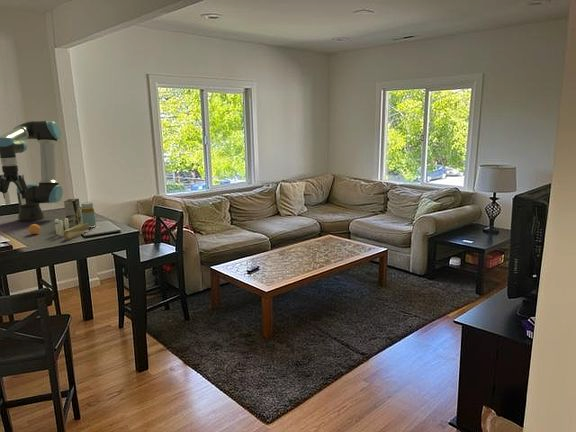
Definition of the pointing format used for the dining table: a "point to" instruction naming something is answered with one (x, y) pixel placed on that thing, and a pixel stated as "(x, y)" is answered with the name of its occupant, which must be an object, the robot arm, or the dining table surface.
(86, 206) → the bottle
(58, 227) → the pin front
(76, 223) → the coffee box
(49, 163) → the robot arm
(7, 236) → the dining table surface
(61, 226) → the pin
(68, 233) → the back rail
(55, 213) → the dining table surface
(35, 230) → the ball
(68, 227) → the pin
